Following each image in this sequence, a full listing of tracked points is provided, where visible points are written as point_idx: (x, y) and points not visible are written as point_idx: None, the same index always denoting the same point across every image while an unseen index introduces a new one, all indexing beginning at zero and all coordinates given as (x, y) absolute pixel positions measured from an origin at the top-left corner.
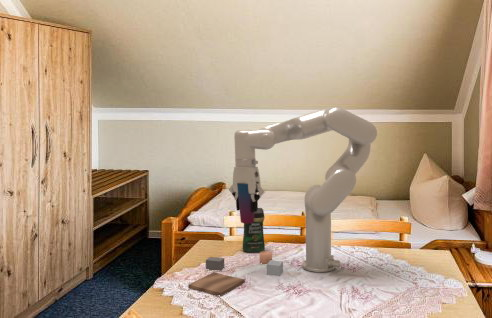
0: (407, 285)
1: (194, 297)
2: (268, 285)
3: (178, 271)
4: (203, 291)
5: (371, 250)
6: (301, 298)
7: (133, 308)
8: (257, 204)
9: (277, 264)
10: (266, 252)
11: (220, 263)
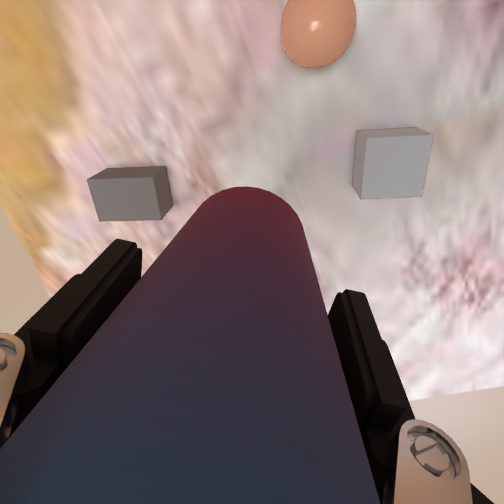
0: None
1: None
2: (378, 272)
3: (48, 247)
4: None
5: None
6: (487, 326)
7: None
8: (399, 385)
9: (410, 185)
10: (319, 10)
11: (163, 213)
